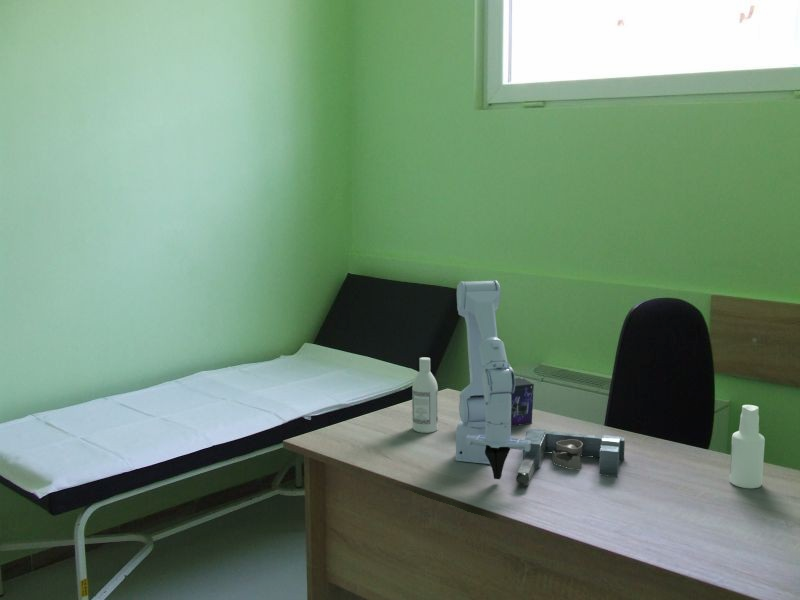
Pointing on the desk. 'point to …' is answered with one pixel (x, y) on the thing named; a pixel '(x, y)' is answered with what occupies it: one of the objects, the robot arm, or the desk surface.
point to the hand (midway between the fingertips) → (497, 477)
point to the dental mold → (568, 454)
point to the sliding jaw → (532, 456)
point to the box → (520, 402)
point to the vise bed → (592, 448)
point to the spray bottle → (747, 450)
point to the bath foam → (425, 399)
